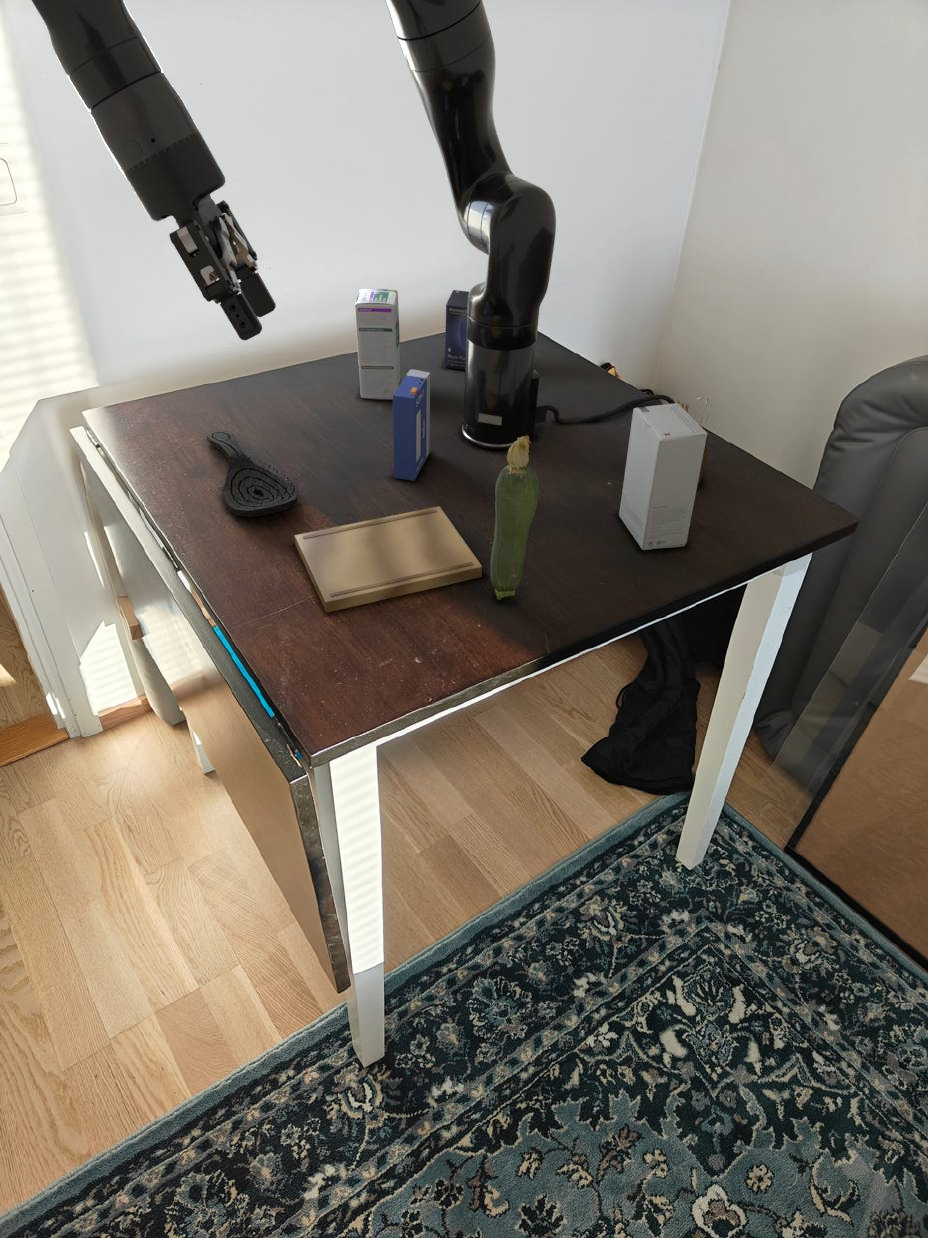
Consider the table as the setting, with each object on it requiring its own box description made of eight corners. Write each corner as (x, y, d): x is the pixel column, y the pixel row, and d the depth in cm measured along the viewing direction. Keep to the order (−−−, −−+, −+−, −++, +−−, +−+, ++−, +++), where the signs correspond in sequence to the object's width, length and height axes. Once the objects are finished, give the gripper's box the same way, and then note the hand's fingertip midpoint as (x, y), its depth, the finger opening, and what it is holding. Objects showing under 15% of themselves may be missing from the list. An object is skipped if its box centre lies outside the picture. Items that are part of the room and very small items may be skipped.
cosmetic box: (686, 547, 104) (713, 435, 94) (638, 552, 102) (661, 439, 93) (658, 508, 110) (682, 399, 100) (614, 513, 109) (633, 403, 99)
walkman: (414, 481, 113) (414, 395, 105) (394, 478, 113) (392, 392, 105) (430, 452, 118) (431, 368, 111) (410, 449, 119) (410, 365, 111)
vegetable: (486, 581, 97) (497, 419, 84) (524, 581, 97) (541, 418, 84) (490, 607, 94) (502, 441, 81) (530, 606, 94) (548, 441, 81)
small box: (442, 369, 138) (443, 303, 132) (450, 352, 143) (451, 288, 136) (508, 376, 137) (513, 310, 130) (513, 359, 142) (518, 294, 135)
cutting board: (439, 516, 107) (439, 505, 106) (481, 577, 98) (482, 565, 97) (295, 545, 101) (294, 534, 100) (326, 613, 92) (325, 601, 91)
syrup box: (398, 400, 130) (396, 303, 120) (359, 398, 130) (354, 301, 120) (401, 383, 134) (399, 288, 125) (363, 381, 134) (358, 287, 125)
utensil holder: (709, 478, 116) (730, 394, 108) (683, 496, 112) (703, 411, 104) (671, 461, 119) (689, 379, 111) (645, 478, 115) (662, 394, 107)
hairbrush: (241, 410, 120) (309, 490, 103) (245, 435, 122) (312, 517, 105) (181, 423, 116) (241, 508, 99) (186, 448, 119) (245, 535, 102)
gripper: (176, 133, 68) (285, 326, 76) (213, 122, 80) (303, 289, 88) (96, 178, 69) (212, 363, 77) (144, 160, 81) (240, 322, 89)
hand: (260, 323), depth 83 cm, fingers open, 8 cm apart
